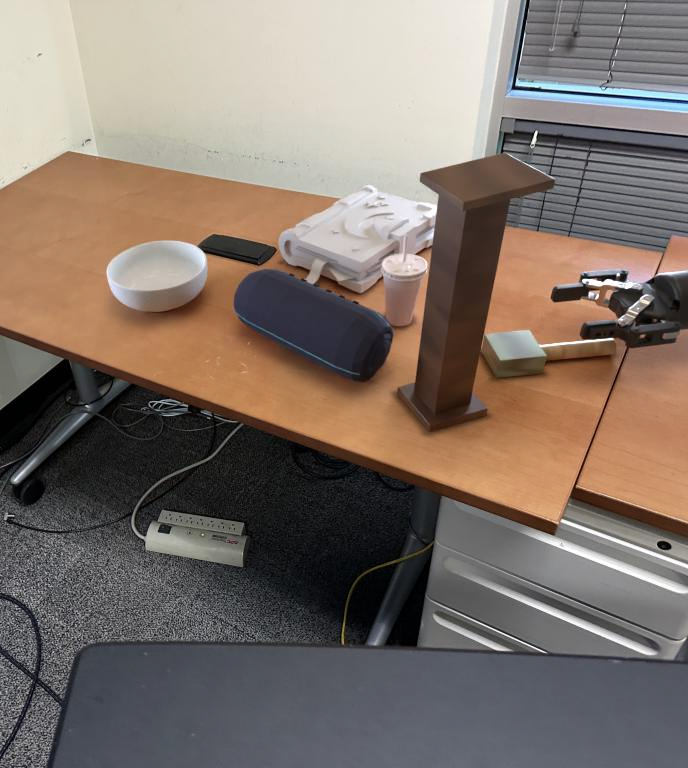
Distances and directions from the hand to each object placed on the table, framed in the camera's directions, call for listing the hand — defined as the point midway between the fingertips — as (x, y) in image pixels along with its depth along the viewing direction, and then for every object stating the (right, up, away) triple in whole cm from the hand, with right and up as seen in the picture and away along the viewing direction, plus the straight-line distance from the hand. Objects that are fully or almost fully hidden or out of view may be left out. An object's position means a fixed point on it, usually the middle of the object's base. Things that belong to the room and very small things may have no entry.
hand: (566, 312), depth 89 cm
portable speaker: (-31, -4, +13) cm, 33 cm away
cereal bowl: (-53, +5, +29) cm, 61 cm away
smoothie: (-17, 0, +16) cm, 23 cm away
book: (-20, +13, +32) cm, 39 cm away
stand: (-15, -12, +1) cm, 19 cm away
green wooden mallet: (0, -6, +5) cm, 8 cm away
